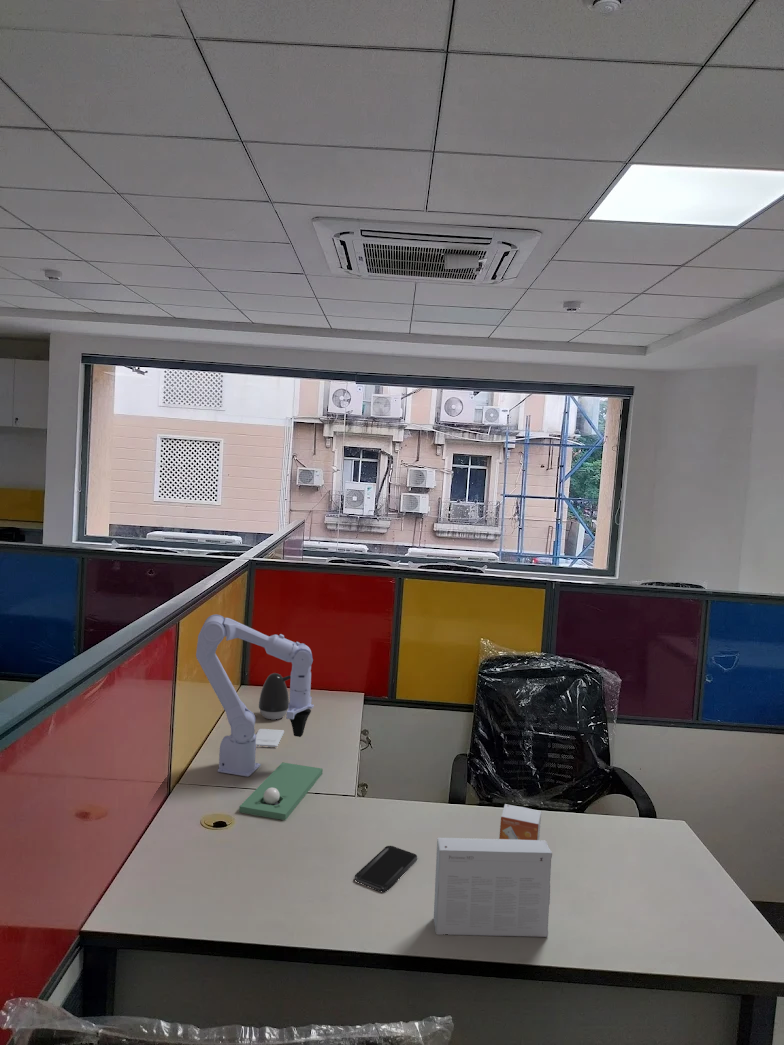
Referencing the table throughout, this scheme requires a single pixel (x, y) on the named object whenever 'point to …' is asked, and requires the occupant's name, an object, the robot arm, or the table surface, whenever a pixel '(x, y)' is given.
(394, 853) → the phone
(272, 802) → the ball
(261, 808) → the putting deck
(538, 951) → the table surface
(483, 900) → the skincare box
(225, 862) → the table surface
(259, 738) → the external hard drive
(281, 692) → the pump dispenser
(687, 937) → the table surface
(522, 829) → the small box
